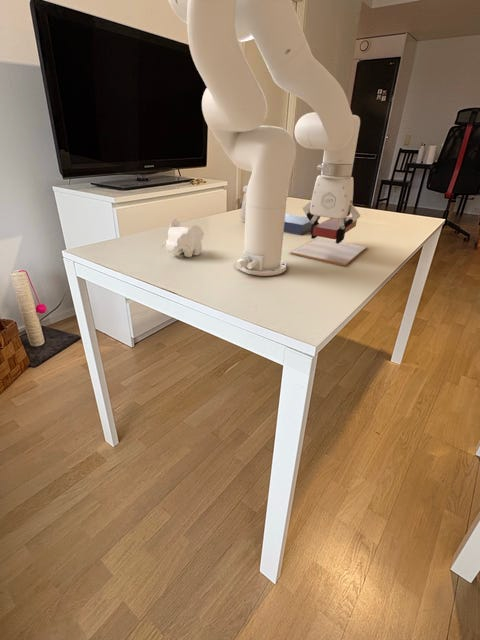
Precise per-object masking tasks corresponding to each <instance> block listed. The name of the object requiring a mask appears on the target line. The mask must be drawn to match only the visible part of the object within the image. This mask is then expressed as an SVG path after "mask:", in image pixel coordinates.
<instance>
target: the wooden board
mask: <svg viewBox="0 0 480 640" xmlns="http://www.w3.org/2000/svg"><path fill="white" fill-rule="evenodd" d="M366 250H367V246H364V245H360V244H354V243H349V242H342V241H341V242H340V243H339V244H337V243H336V240H334V239H329V238H324V237H316V238H314V239H312V240H311V241H309V242H308V243H306V244H304V245H302V246H299V247H298V248H296V249H294V250H292V251H291V252H290V255H294V256H297V257H298V256H299V257H302V258H306V259H311V260H316V261H321V262H325V263H330V264H334V265H338V266H342V267H347V265H349V264H350V263H352V261H353V260H355V259H356V258H357V257H359V255H361V254H362V253H363V252H364V251H366Z"/></svg>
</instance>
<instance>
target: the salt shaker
mask: <svg viewBox="0 0 480 640" xmlns="http://www.w3.org/2000/svg"><path fill="white" fill-rule="evenodd" d="M247 187H248V184H247V185H244V186H243V187H242V192H243V193H244V194H243V198H242V203H241V208H240V214H239V216H240V220H241V222H242V223H244V224H245V211H246V191H247Z"/></svg>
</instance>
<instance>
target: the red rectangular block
mask: <svg viewBox="0 0 480 640" xmlns="http://www.w3.org/2000/svg"><path fill="white" fill-rule="evenodd" d="M350 218H352V216H346V219H347V221H348V220H349V219H350ZM357 221H358V219H357V220H355V221H354V222H353V223H352V224H350V225H349V226H348V227H346V230H345V234H346V233H348V232H349V231H351V230H352V229H354V228H355V227H356V226H357ZM339 228H340V225H339V221H338V219H334V218H328V219H326V220H324V221H321V222H319V224H318V225H316V226H314V229H313V235H314V236H317V237H318V238H323V239H329V240H336V238H337V232H338V229H339Z"/></svg>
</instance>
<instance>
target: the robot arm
mask: <svg viewBox="0 0 480 640" xmlns="http://www.w3.org/2000/svg"><path fill="white" fill-rule="evenodd" d="M167 1H168V3H169V6H170V9H171V10H172V11H173V13H174V14H175V16H176V17H177V18H178V19H179V20H180V21H181V22H183V23H184V24H186V28H187V30H186V31H187V43H188V47H189V48H188V49H189V51H190V55H191V58H192V61H193V63H194V65H195V68H196V70H197V71H198V73H199V75H200V77H201V79H202V81H203V82H204V85H205V86H206V88H205V90H204V91H203V95H202V99H201V111H202V115H203V118H204V122H205V123H206V125H207V127H208V128H209V130H210V131H211V133H212V134H213V137H215V140H216V141H217V142H218V144H219V145H220V147H221V148H222V150H223V151H224V153H225V154H226V156H227V158H229V160H230V161H231V162H232V163H233V165H235V166H236V167H237V168H238V169H240V170H243V171H246V172H251V175H250V178H249V180H248V184H247V185H248V187H247V191H246V211H245V223H244V237H243V239H244V240H243V243H244V244H243V252H242V256H241V258H240V259H238V260H237V261H235V262H234V264H233V265H234V267H235V268H236V270H239V271H240V272H243V273H245V274H249V275H253V276H259V277H261V276H262V277H270V276H278V275H280V274H282V273H284V272H285V271H286V270H287V263H286V262H285V261H284V260H283V259H282V254H283V252H282V251H283V243H284V242H283V241H284V233H285V232H284V222H285V214H286V213H287V212H286V211H287V199H288V193H289V191H288V190H289V185H290V179H291V175H292V171H293V168H294V164H295V161H296V156H297V146H296V142H297V143H298V144H299V145H300V146H302V147H303V148H305V149H311V150H323V157H322V158H323V159H322V162H321V163H320V164H317V166H316V170H317V171H320V174H319V175H317V177H316V180H315V184H314V187H313V192H312V196H311V200H310V201H309V202H308V203H307V204H306V205H304V206H303V207H302V211H303V213H304V214H305V216H306V217H308V219H309V220H310V223H311V224H312V225H311V231H310V233H309V234H310V235H311V236H310V239H312V240H315V239H317V238H318V236H314V235H313V229H314V226H316V225H318V224H320V222H319V220H320V218H328V219H330V218H334V219H338V221H339V225H340V228H339V229H338V232H337V238H336V239H335V241H336V243H337V244H339V243H340V242H342V241H344V239H345V235H346V233H345V230H346V227H348V226H349V225H350V224H352V223H353V222H354V221H355V220H357V221H358V219H359V218H360V217H361V214H360V212H359V211H358V210H357V208H356V207H355V206H354V204H353V201H354V177H353V176H352V174H353V168H354V162H355V156H356V151H357V144H358V138H359V132H360V127H361V117H360V116H358V115H356V114H353V112H352V110H351V106H350V103H349V101H348V98H347V95H346V92H345V91H344V89H343V87H342V86H341V85H340V83H339V81H338V80H337V79H336V78H335V77H334V76H333V75H332V74H331V73H330V71H328V69H326V67H325V66H324V65H323V64H321V62H319V61H318V60H317V59H316V58H315V57H314V55H313V54H312V51H311V49H310V45H309V43H308V41H307V38H306V36H305V35H306V34H305V33H304V30H303V27H302V24H301V22H300V20H299V17H298V14H297V12H296V8H295V6H294V3H293V1H292V0H167ZM251 40H254V42H255V44H256V46H257V48H258V50H259V53H260V54H261V56H262V59H263V61H264V63H265V65H266V67H267V69H268V72H269V73H270V75H271V78H272V81H273V82H274V84H275V85H277V87H279V88H281V89H282V90H284V91H285V92H287V93H289V94H291V95H293V96H295V97H297V98H299V99H301V100H302V101H304V102H305V103H306V104H307V105H308V106H309V107H310V108H312V110H313V111H314V112H308V113H305V114H303V115H302V116H301V117H300V118H299V119H298V120H297V122H296V124H295V126H294V137H293V135H292V133H290V132H289V131H287V129H285V128H283V127H280V126H273V125H263V123H264V122H265V120H266V118H267V115H268V102H267V99H266V96H265V94H264V91H263V89H262V87H261V85H260V83H259V82H258V80H257V78H256V76H255V74H254V72H253V70H252V67H251V65H250V64H249V61H248V60H247V58H246V56H245V54H244V52H243V49H242V47H241V45H240V42H248V41H251ZM294 138H295V139H294ZM295 140H296V142H295ZM350 215H351V217H352V218H350V219H349V220H348V221H347V219H346V217H350Z"/></svg>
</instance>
